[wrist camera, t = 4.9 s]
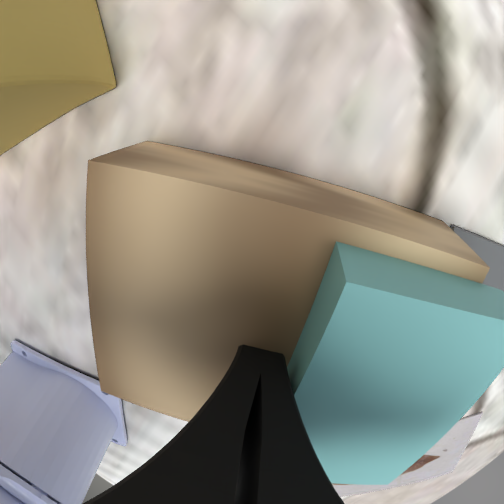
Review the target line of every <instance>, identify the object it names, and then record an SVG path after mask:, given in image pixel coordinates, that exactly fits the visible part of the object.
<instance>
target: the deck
mask: <svg viewBox="0 0 504 504" xmlns="http://www.w3.org/2000/svg"><path fill="white" fill-rule="evenodd" d="M336 241H337V242H340V243H344V244H348V245H351V246H355V247H359V248H362V249H366V250H369V251H373V252H376V253H380V254H384V255H387V256H391V257H394V258H398V259H401V260H404V261H408V262H411V263H415V264H418V265H422V266H425V267H428V268H432V269H435V270H439V271H442V272H445V273H449V274H452V275H455V276H458V277H462V278H465V279H468V280H471V281H475V282H478V283H481V284H482V283H483V281H484V279H485V277H486V275H487V273H488V271H489V269H490V267H489V266H488V265H487V264H486V263H485V262H484V261H483V260H482V259H481V258H480V257H479V256H478V255H477V254H476V253H475V252H474V251H473V250H472V249H471V248H470V247H469V246H468V245H467V244H466V243H465V242H464V241H463V240H462V239H461V238H460V237H459V236H458V235H457V234H456V233H455V232H454V231H453V230H452V229H451V228H450V227H449V226H447V225H446V224H445V223H444V222H443V221H441V220H438V219H436V218H433V217H430V216H428V215H425V214H422V213H419V212H416V211H414V210H411V209H408V208H405V207H402V206H399V205H396V204H393V203H390V202H387V201H384V200H381V199H378V198H375V197H372V196H369V195H366V194H363V193H360V192H356V191H353V190H350V189H347V188H343V187H340V186H337V185H333V184H330V183H326V182H323V181H319V180H316V179H312V178H309V177H305V176H302V175H298V174H294V173H290V172H287V171H283V170H279V169H275V168H271V167H267V166H263V165H259V164H255V163H251V162H247V161H242V160H238V159H234V158H229V157H225V156H220V155H216V154H211V153H206V152H202V151H197V150H192V149H187V148H182V147H177V146H171V145H166V144H161V143H155V142H149V141H145V142H142V143H139V144H135V145H132V146H129V147H126V148H123V149H120V150H117V151H114V152H111V153H108V154H105V155H102V156H99V157H96V158H93V159H91V160H88V172H87V192H86V260H87V281H88V295H89V307H90V318H91V327H92V336H93V343H94V351H95V358H96V364H97V371H98V377H99V382H100V388H101V391H103V392H105V393H108V394H110V395H113V396H115V397H118V398H120V399H123V400H125V401H128V402H131V403H133V404H136V405H139V406H142V407H144V408H147V409H150V410H153V411H156V412H159V413H162V414H165V415H168V416H171V417H175V418H178V419H181V420H185V421H188V422H189V421H190V420H191V419H192V418H193V417H194V416H195V414H196V413H197V412H198V411H199V410H200V408H201V407H202V406H203V405H204V403H205V402H206V401H207V400H208V399H209V397H210V396H211V395H212V393H213V392H214V390H215V389H216V387H217V386H218V384H219V383H220V382H221V380H222V379H223V377H224V376H225V374H226V372H227V370H228V369H229V367H230V365H231V363H232V361H233V359H234V357H235V355H236V352H237V349H238V346H240V345H243V344H244V345H248V346H252V347H256V348H260V349H264V350H269V351H273V352H277V353H282V354H283V355H284V356H285V360H286V365H287V366H288V364H289V362H290V359H291V357H292V354H293V352H294V350H295V347H296V345H297V343H298V340H299V338H300V335H301V333H302V330H303V328H304V325H305V323H306V320H307V318H308V315H309V313H310V310H311V308H312V305H313V303H314V300H315V297H316V295H317V292H318V290H319V287H320V284H321V282H322V279H323V276H324V274H325V271H326V268H327V265H328V263H329V260H330V257H331V254H332V252H333V249H334V246H335V243H336Z"/></svg>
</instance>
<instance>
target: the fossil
mask: <svg viewBox="0 0 504 504" xmlns="http://www.w3.org/2000/svg"><path fill="white" fill-rule="evenodd" d="M481 416H482V412H479V413H476V414H473V415H470V416H467V417H463V418H461V419H460V420H459V421H458V422H457V423H456V424H455V425H454V426H453V427H452V428H451V429H450V430H449V431H448V432H447V433H446V434H445V435H444V436H443V437H442V438H441V439H440V440H439V441H438V442H437V443H436V444H435V445H434V446H433V447H432V448H431V449H429V450H428V451H427V452H426V453H425V454H424V455H423V456H422V457H421V458H419V459H418V460H417V461H416V462H415V463H414V464H413V465H411V466H410V467H409V468H408V469H407V470H405V471H404V472H403V473H402V474H401V475H399V476H398V477H397V478H396V479H394V480H393V481H392V482H390V483H389V484H388V485H356V484H335V483H332V485H333V487H334V489H335V490H336V492H337V493H338V495H339V496H340V497H342V496H350V495H357V494H364V493H369V492H373V491H379V490H385V489H390V488H394V487H399V486H404V485H409V484H412V483H416V482H421V481H425V480H428V479H431V478H434V477H438V476H441V475H444V474H448V473H451V472H453V470H454V468H455V467H456V465H457V463H458V461H459V459H460V457H461V456H462V454H463V452H464V450H465V448H466V446H467V444H468V442H469V440H470V438H471V437H472V435H473V433H474V431H475V429H476V427H477V424H478V422H479V420H480V418H481Z"/></svg>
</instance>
